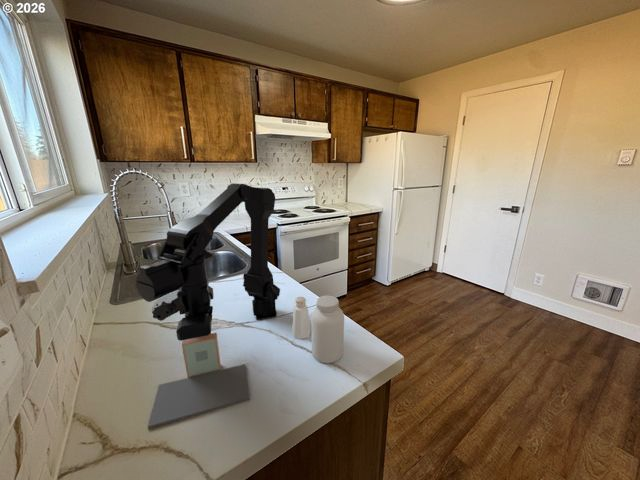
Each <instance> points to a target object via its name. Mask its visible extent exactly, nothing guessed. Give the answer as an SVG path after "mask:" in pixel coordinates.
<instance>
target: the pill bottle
mask: <svg viewBox="0 0 640 480" xmlns="http://www.w3.org/2000/svg"><path fill="white" fill-rule="evenodd" d="M339 302H340V301H339V299H338V298H337V297H335V296H333V295H322V296H319V297H318V298H317V299H316V307H315V308H314V309H313V311H312V312H311V319H310V322H311V323H310V327H311V353H312V357H313V358H314V359H315V360H316V361H317V362H320V363H323V364H332V363H333V364H334V363H335V362H338V361H339V360H340V359H342V356H343V353H344V337H345V335H344V334H345V333H344V332H345V314H344V311H343V310H342V309H341V308H340V304H339Z"/></svg>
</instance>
